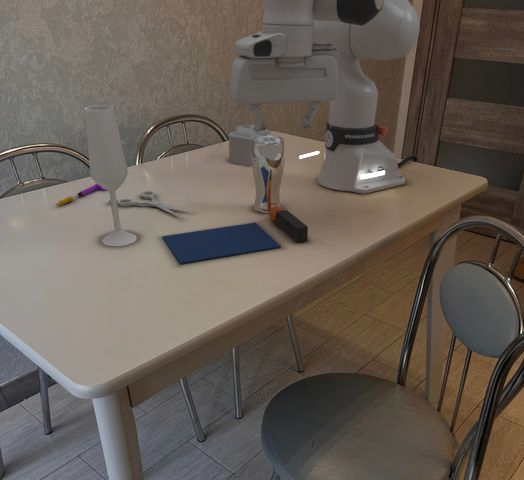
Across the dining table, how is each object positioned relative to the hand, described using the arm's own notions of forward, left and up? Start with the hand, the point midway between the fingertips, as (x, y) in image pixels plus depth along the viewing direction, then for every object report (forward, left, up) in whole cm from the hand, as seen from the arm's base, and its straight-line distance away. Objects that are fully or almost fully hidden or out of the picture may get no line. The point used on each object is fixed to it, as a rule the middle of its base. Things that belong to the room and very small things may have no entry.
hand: (283, 128), depth 100 cm
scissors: (+21, -21, -20) cm, 36 cm away
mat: (+14, +3, -20) cm, 24 cm away
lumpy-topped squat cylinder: (-14, -50, -20) cm, 56 cm away
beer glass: (-2, -11, -20) cm, 23 cm away
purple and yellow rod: (+35, -34, -20) cm, 53 cm away
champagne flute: (+32, -6, -20) cm, 38 cm away
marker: (-1, +3, -20) cm, 20 cm away
